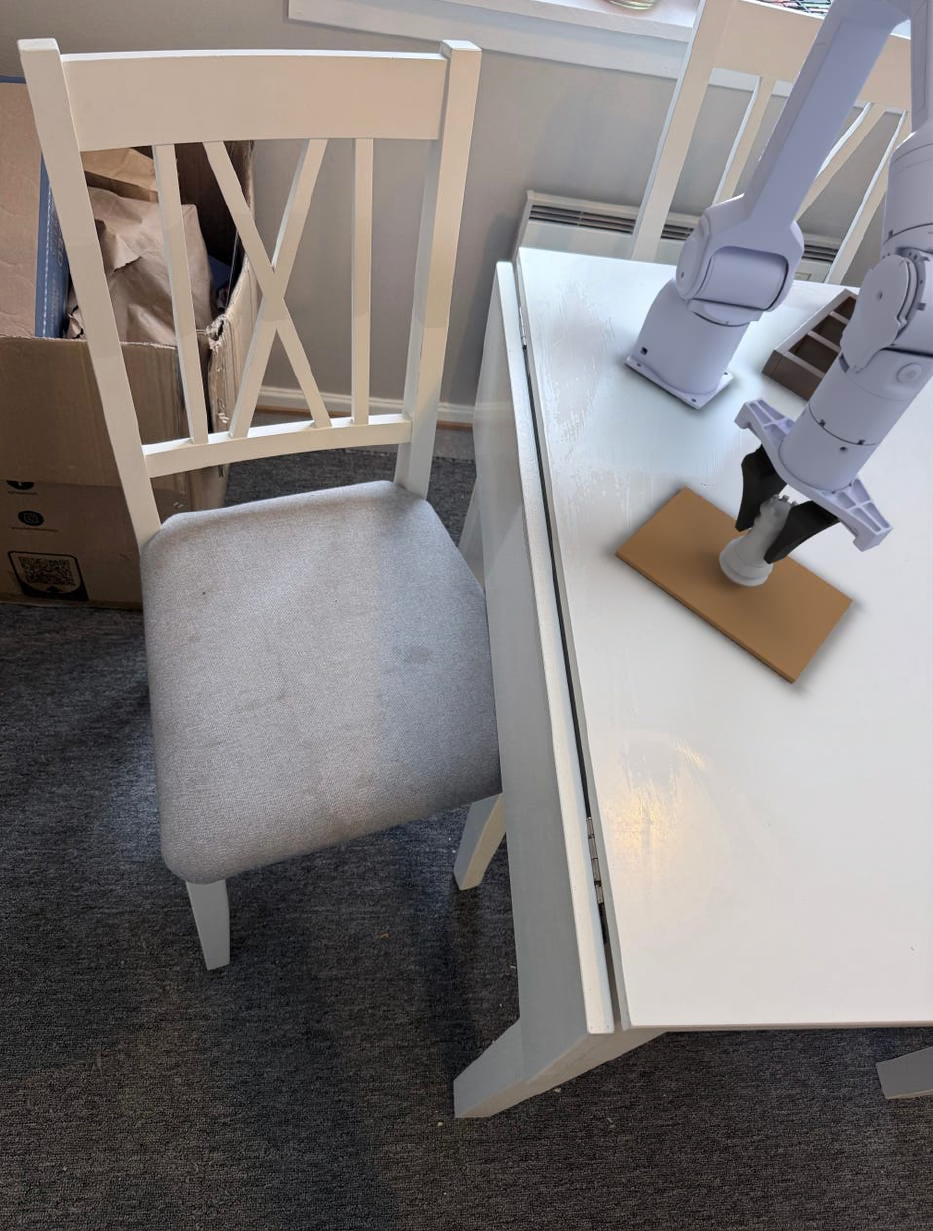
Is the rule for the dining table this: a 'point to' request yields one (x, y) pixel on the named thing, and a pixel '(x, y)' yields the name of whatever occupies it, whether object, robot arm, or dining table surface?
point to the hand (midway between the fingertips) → (759, 542)
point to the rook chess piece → (756, 544)
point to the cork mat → (735, 585)
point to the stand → (812, 347)
